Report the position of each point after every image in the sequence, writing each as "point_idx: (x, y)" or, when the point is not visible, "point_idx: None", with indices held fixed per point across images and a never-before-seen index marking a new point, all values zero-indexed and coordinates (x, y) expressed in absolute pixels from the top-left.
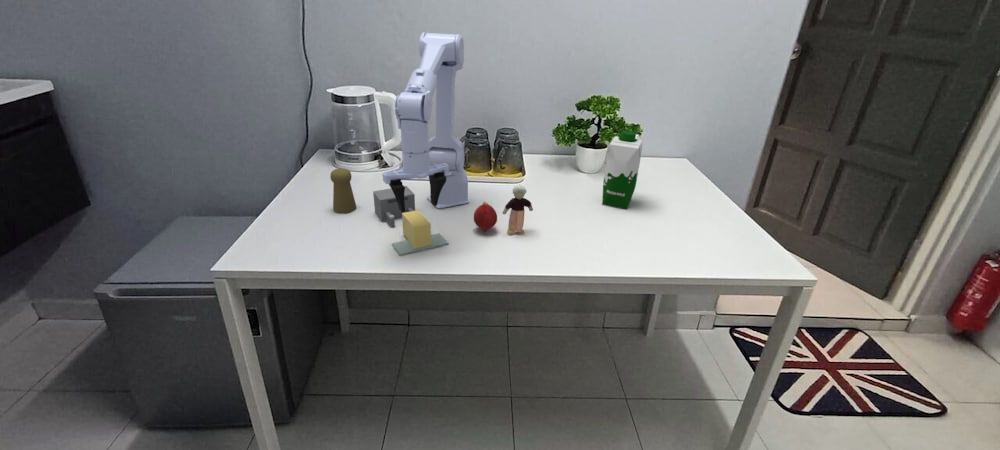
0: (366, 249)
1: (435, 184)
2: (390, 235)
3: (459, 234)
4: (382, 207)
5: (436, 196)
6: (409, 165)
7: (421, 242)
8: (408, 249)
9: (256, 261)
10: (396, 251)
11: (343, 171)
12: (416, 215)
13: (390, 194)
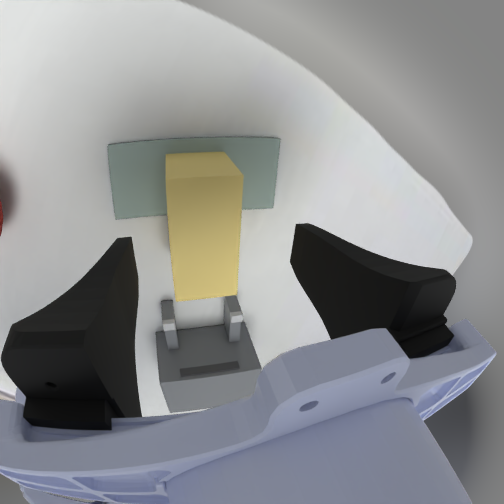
0: (332, 209)
1: (107, 329)
2: (252, 256)
3: (58, 198)
4: (250, 351)
5: (112, 261)
6: (450, 466)
7: (202, 156)
8: (244, 154)
9: (455, 242)
10: (276, 164)
11: None
12: (194, 265)
13: (224, 387)
